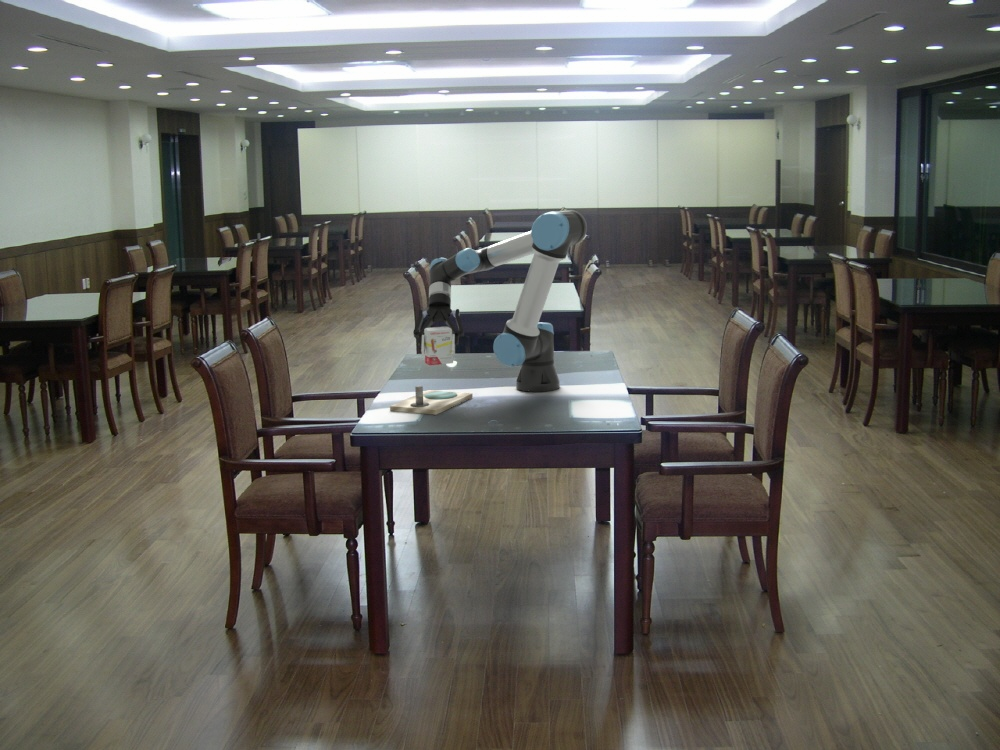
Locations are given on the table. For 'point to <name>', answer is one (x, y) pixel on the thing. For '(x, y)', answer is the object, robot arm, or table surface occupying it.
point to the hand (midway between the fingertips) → (438, 352)
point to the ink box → (438, 345)
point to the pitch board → (430, 401)
